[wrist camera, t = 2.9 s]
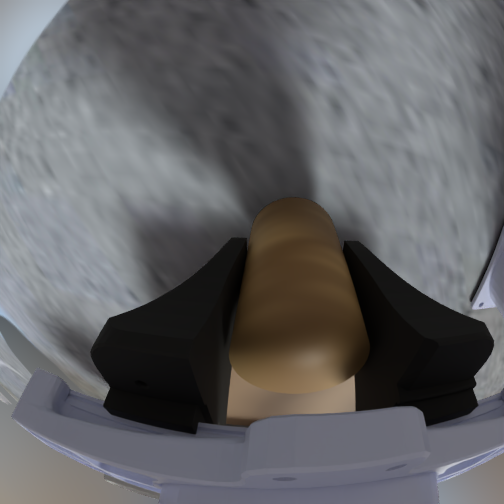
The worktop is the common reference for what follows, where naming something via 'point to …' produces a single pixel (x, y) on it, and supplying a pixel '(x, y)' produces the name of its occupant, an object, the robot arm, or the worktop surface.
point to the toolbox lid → (283, 401)
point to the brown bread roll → (297, 304)
